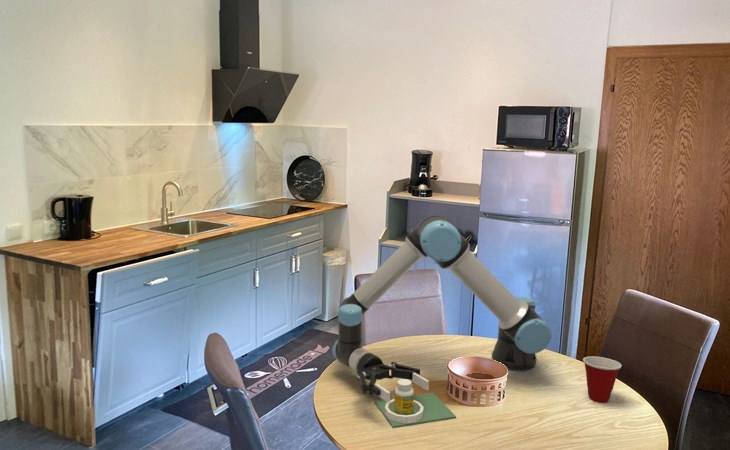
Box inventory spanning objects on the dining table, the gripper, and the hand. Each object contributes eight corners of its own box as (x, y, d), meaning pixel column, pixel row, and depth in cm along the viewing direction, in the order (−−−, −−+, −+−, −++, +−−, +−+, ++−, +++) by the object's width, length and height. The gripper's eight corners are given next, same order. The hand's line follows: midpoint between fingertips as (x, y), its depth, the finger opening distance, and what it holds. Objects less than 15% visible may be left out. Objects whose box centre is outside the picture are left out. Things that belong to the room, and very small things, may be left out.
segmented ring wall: (414, 402, 168) (414, 396, 168) (429, 420, 158) (429, 413, 158) (380, 407, 165) (380, 401, 165) (393, 425, 155) (393, 418, 155)
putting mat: (433, 394, 175) (433, 392, 175) (455, 417, 161) (456, 416, 161) (374, 402, 169) (374, 400, 169) (392, 427, 155) (392, 426, 155)
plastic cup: (618, 394, 177) (622, 357, 175) (617, 409, 167) (621, 371, 165) (581, 387, 181) (584, 351, 179) (578, 401, 172) (581, 364, 170)
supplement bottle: (405, 407, 165) (406, 376, 164) (417, 415, 161) (418, 383, 159) (390, 412, 162) (391, 380, 161) (401, 420, 158) (402, 388, 156)
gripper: (398, 367, 184) (442, 393, 166) (331, 385, 170) (371, 415, 153) (399, 344, 182) (443, 368, 165) (331, 361, 169) (371, 389, 151)
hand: (408, 391), depth 159 cm, fingers open, 13 cm apart
